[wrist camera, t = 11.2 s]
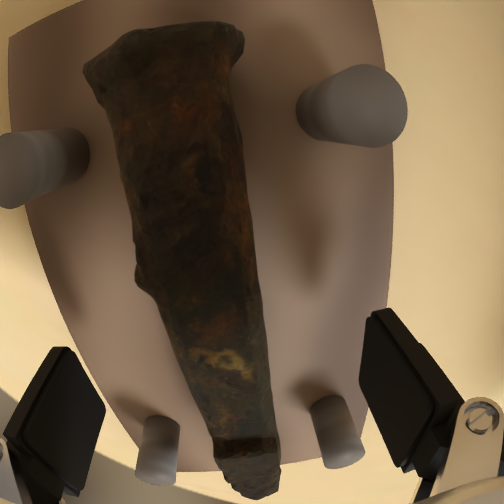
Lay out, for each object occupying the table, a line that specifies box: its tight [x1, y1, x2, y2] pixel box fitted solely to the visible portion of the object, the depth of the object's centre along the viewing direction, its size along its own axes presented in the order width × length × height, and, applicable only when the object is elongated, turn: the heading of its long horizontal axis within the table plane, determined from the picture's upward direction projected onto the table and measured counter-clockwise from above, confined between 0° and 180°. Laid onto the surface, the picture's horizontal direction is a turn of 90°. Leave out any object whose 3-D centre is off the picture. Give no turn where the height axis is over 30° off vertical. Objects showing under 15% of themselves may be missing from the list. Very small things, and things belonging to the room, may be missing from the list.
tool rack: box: [0, 0, 407, 486], centre depth 11 cm, size 14×26×5 cm, turn 7°
